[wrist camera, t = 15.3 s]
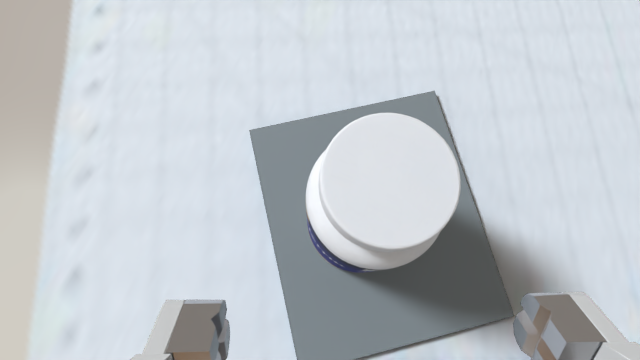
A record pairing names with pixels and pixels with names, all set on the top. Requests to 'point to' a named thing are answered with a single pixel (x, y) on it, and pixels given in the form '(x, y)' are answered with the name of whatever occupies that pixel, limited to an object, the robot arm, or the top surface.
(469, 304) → the mat
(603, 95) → the top surface
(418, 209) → the pill bottle
